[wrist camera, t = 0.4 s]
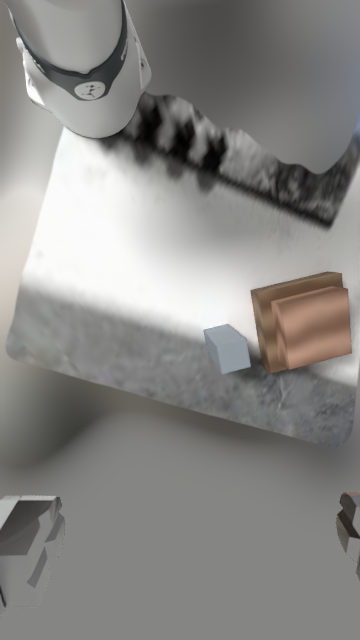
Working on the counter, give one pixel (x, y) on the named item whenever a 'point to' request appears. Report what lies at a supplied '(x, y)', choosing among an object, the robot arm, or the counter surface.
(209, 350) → the slate brick
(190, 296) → the counter surface
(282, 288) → the plinth
